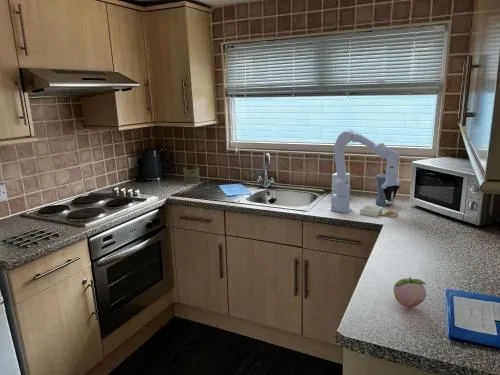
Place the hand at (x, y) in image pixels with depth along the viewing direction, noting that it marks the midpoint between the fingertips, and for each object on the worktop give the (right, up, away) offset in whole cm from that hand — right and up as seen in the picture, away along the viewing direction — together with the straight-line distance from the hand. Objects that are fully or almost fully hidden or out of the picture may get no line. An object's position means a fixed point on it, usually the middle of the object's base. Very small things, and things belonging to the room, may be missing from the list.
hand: (390, 199), depth 201 cm
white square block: (-17, 0, +39) cm, 42 cm away
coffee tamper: (0, -2, 0) cm, 2 cm away
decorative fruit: (-25, -30, -83) cm, 92 cm away
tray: (-8, -7, +6) cm, 12 cm away
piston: (-116, +9, +87) cm, 145 cm away
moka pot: (+4, -4, +21) cm, 22 cm away
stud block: (0, -8, +2) cm, 8 cm away
